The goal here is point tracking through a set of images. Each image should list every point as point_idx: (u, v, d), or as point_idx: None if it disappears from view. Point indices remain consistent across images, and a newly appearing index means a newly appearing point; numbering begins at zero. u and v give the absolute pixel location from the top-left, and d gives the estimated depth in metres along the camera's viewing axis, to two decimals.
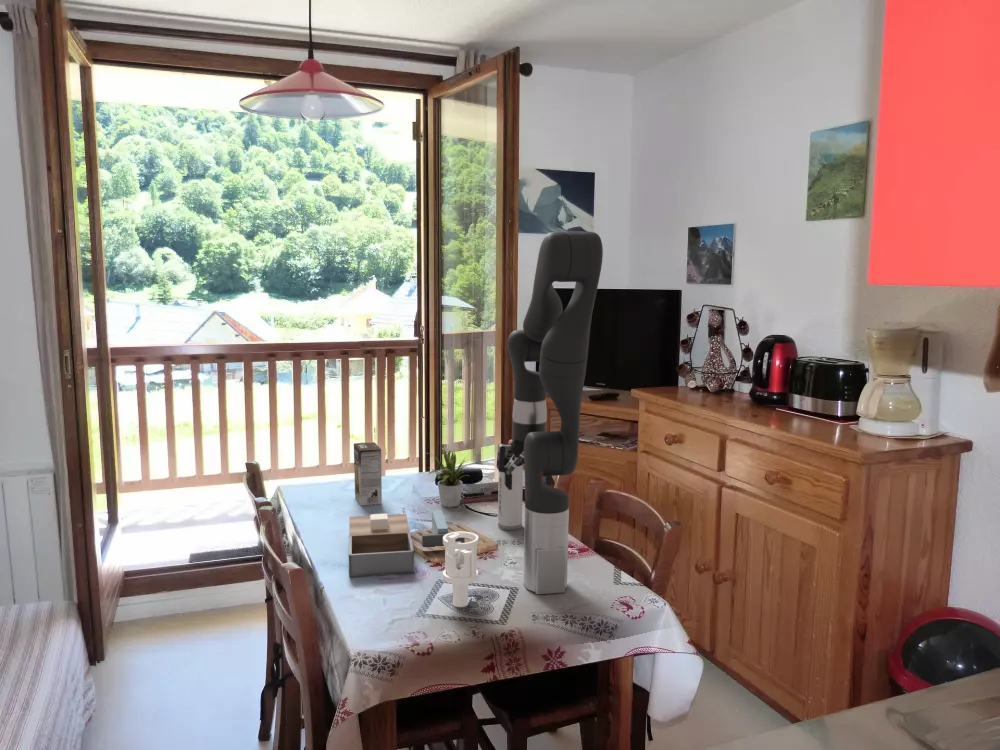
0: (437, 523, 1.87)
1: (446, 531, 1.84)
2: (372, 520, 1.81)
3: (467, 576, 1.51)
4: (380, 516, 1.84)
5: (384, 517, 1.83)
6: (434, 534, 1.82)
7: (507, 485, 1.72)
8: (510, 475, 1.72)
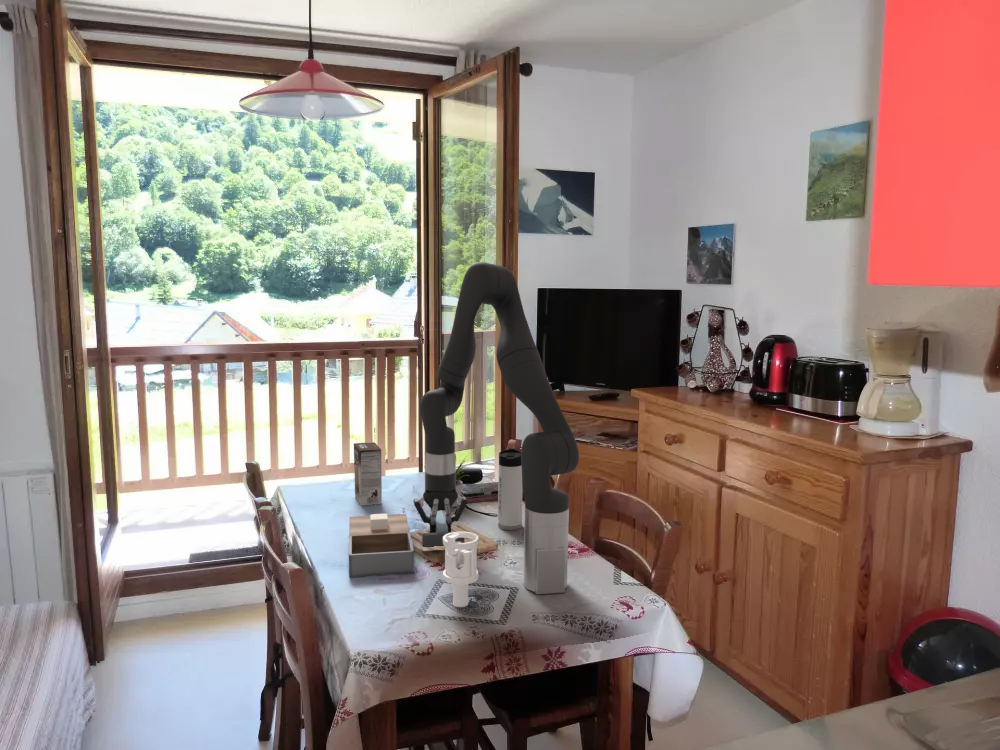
0: (437, 523, 1.87)
1: (446, 531, 1.84)
2: (372, 520, 1.81)
3: (467, 576, 1.51)
4: (380, 516, 1.84)
5: (384, 517, 1.83)
6: (434, 534, 1.82)
7: None
8: (434, 526, 1.87)
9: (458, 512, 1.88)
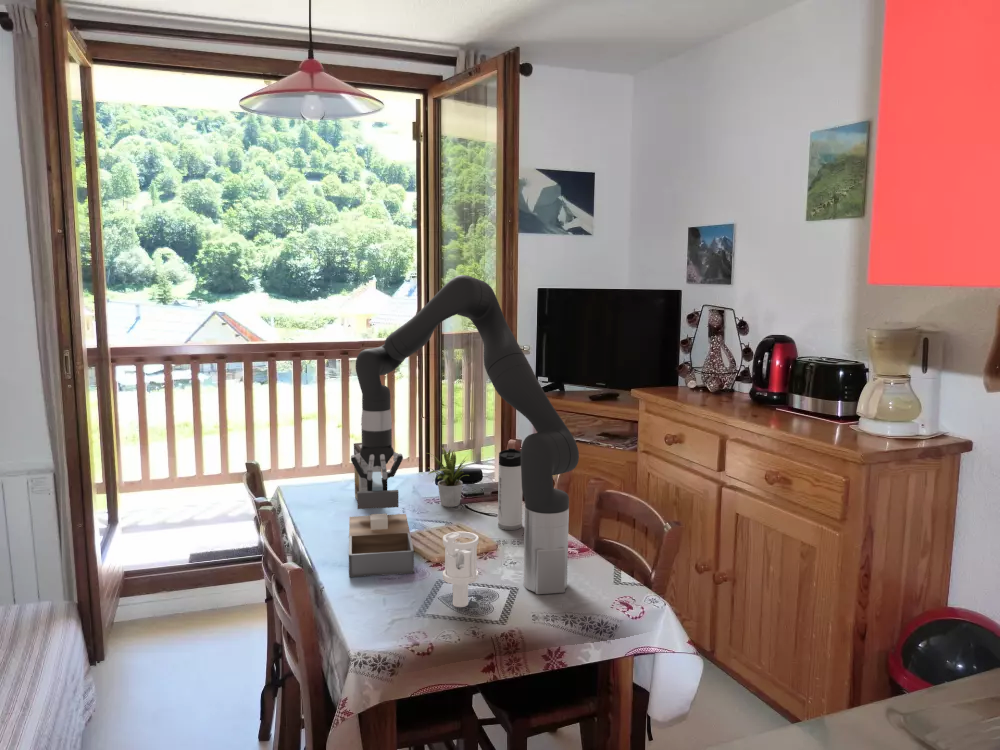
0: (373, 482, 1.94)
1: (381, 489, 1.91)
2: (372, 520, 1.81)
3: (467, 576, 1.51)
4: (380, 516, 1.84)
5: (384, 517, 1.83)
6: (369, 492, 1.89)
7: (369, 490, 1.95)
8: (371, 481, 1.94)
9: (394, 468, 1.95)
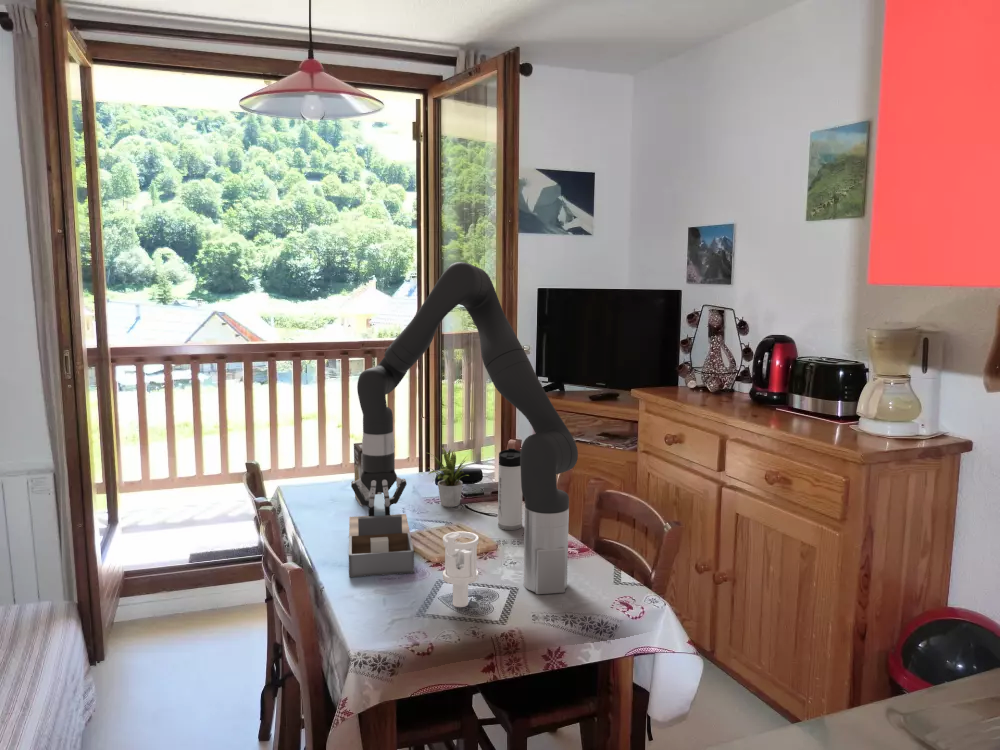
0: (375, 506, 1.83)
1: (383, 514, 1.80)
2: None
3: (467, 576, 1.51)
4: (381, 549, 1.76)
5: None
6: (370, 517, 1.78)
7: None
8: (373, 508, 1.82)
9: (397, 494, 1.83)
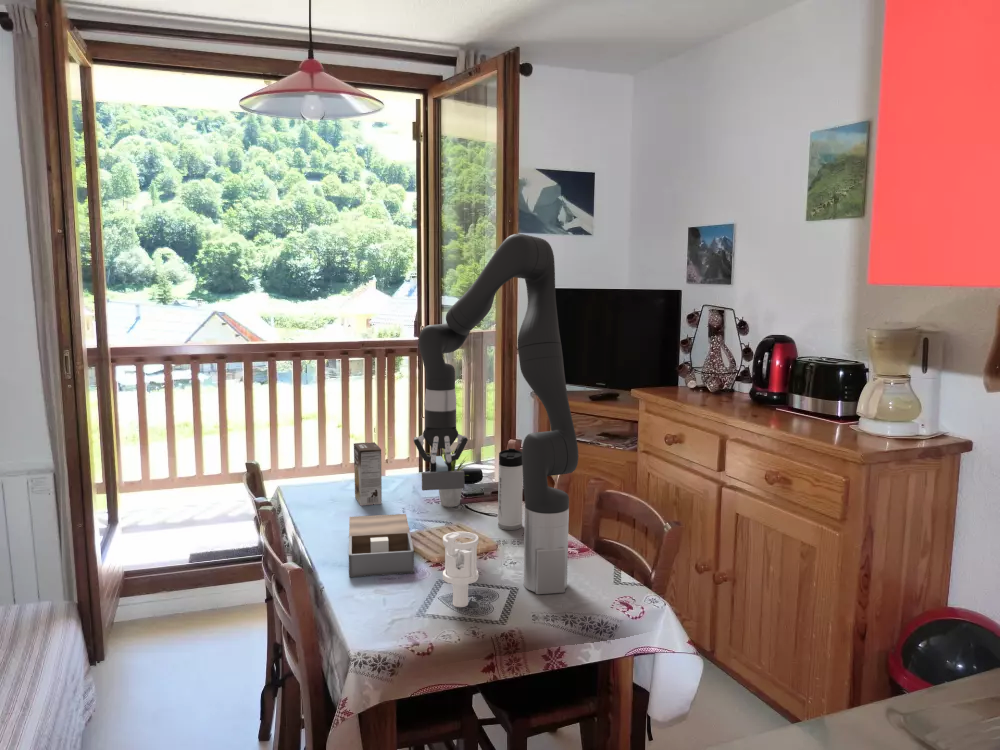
0: (437, 464, 1.86)
1: (446, 470, 1.82)
2: None
3: (467, 576, 1.51)
4: (381, 549, 1.76)
5: None
6: (434, 472, 1.81)
7: None
8: (434, 464, 1.85)
9: (458, 450, 1.86)
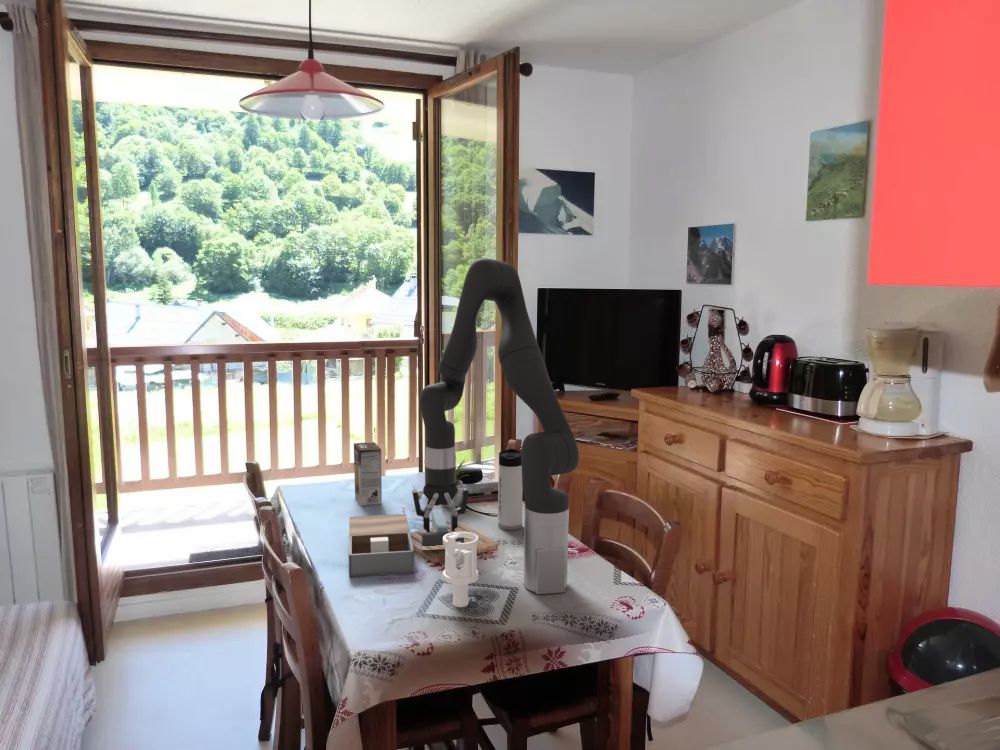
0: (437, 522, 1.87)
1: (446, 530, 1.84)
2: None
3: (467, 576, 1.51)
4: (381, 549, 1.76)
5: None
6: (434, 533, 1.83)
7: (425, 528, 1.87)
8: (428, 519, 1.87)
9: (462, 504, 1.88)
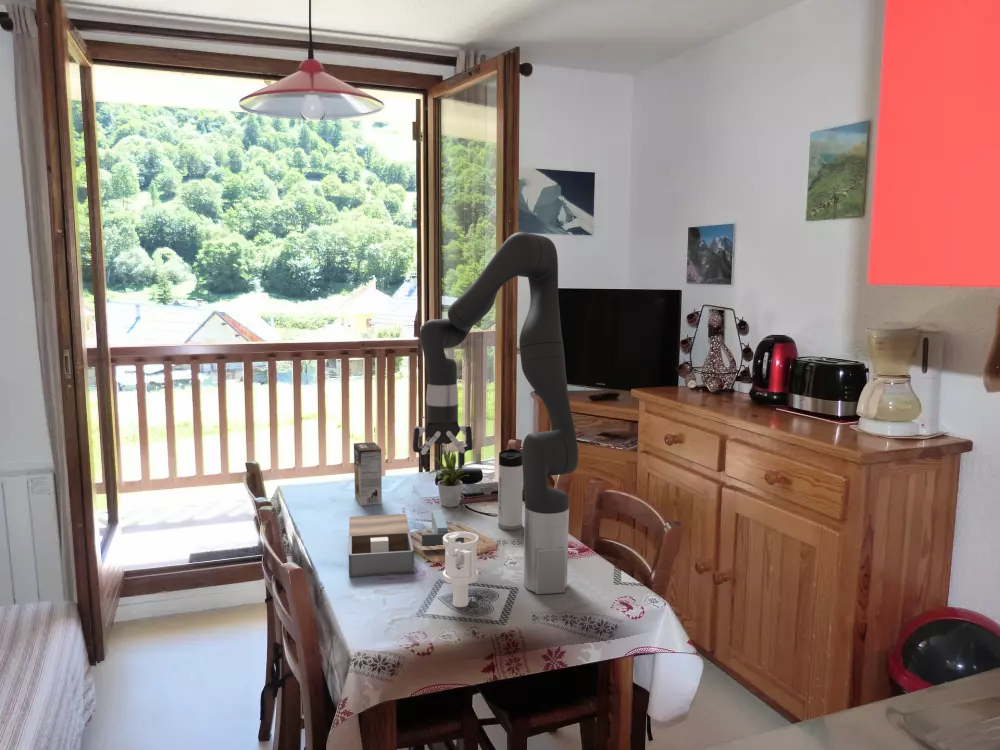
0: (437, 522, 1.87)
1: (446, 530, 1.84)
2: None
3: (467, 576, 1.51)
4: (381, 549, 1.76)
5: None
6: (434, 533, 1.83)
7: (422, 465, 1.84)
8: (425, 455, 1.84)
9: (468, 441, 1.85)
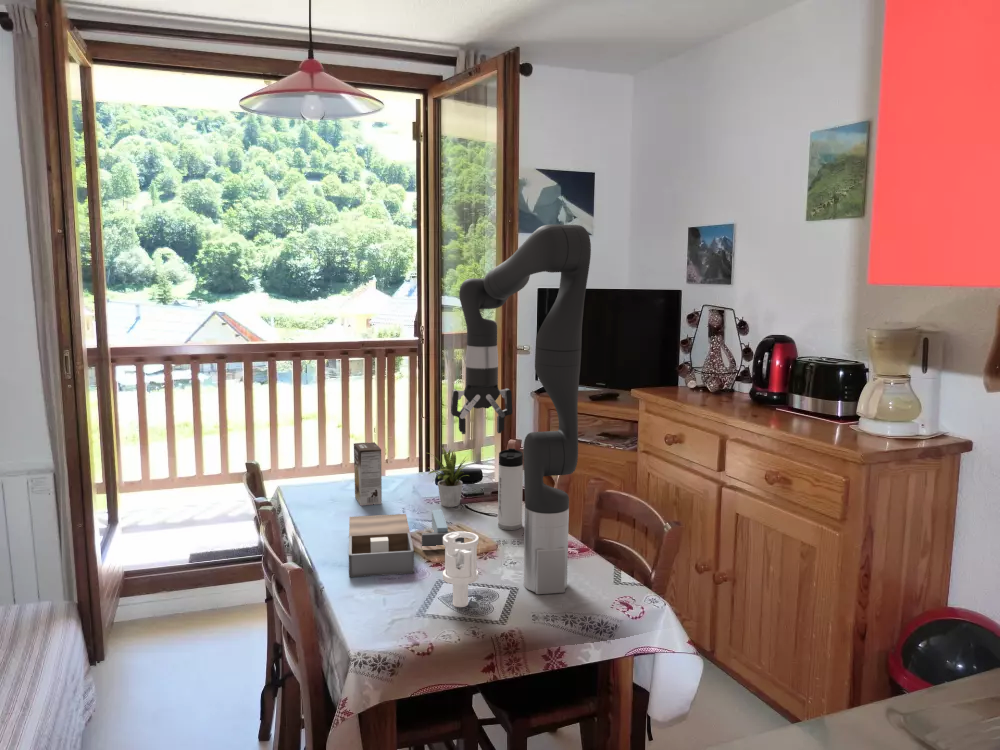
0: (437, 522, 1.87)
1: (446, 530, 1.84)
2: None
3: (467, 576, 1.51)
4: (381, 549, 1.76)
5: None
6: (434, 533, 1.83)
7: (461, 429, 1.79)
8: (464, 419, 1.78)
9: (508, 405, 1.80)
